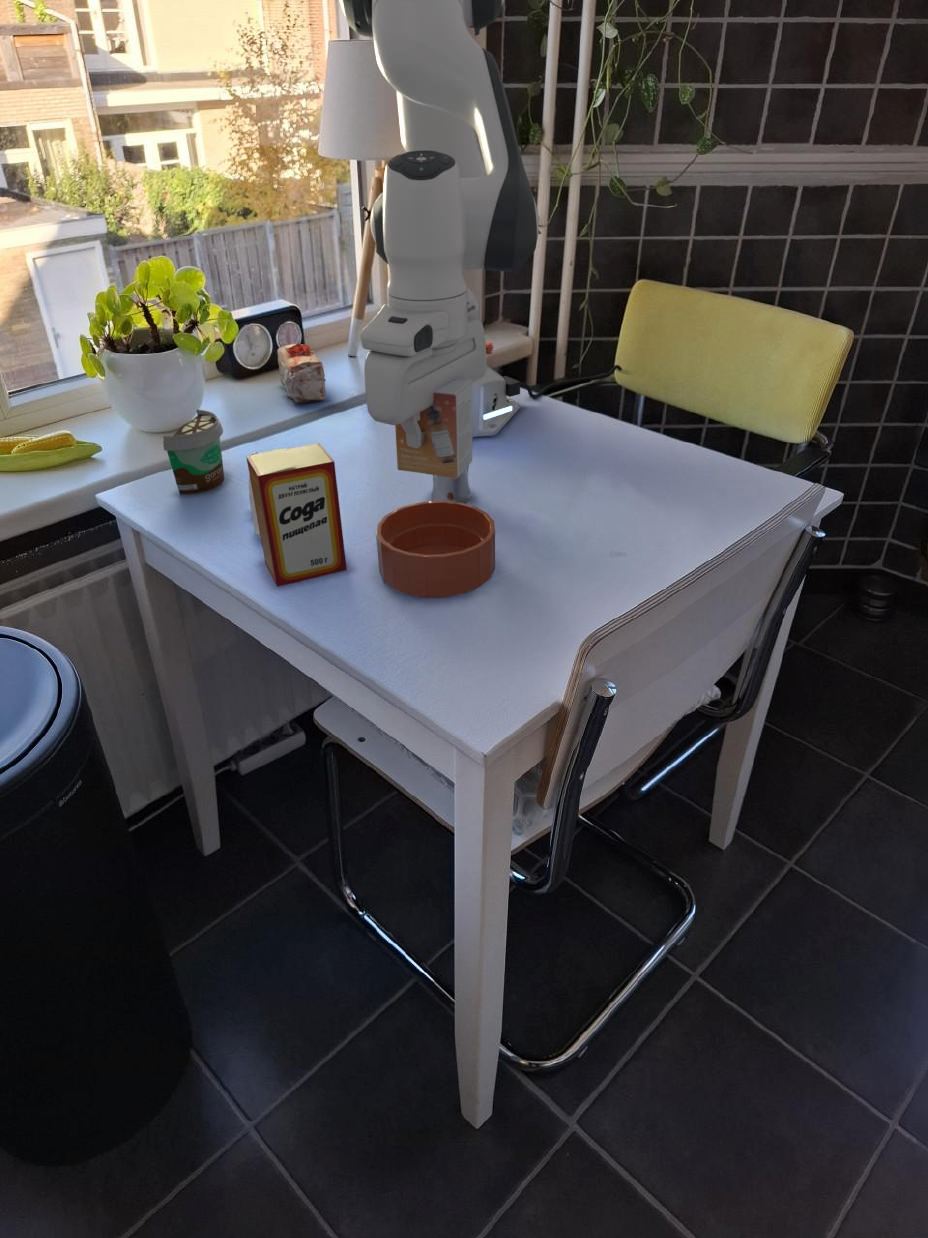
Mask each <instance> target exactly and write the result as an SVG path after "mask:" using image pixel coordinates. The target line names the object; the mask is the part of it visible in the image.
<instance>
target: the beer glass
mask: <svg viewBox="0 0 928 1238" xmlns="http://www.w3.org/2000/svg"><path fill="white" fill-rule="evenodd" d="M472 432H473V430H472ZM469 466H470V464H469V465H468V466H467V468H466V469H465V470H464V471H463V472H462V473H461V475H460V476H459V477H458V478H457V479H453V478H448V477H442V476H437V475H432V491H431V497H430V499H431V501H451V502H460V503H465V504H469V502H470V501H471V499H472V495H471V489H470V484H469Z"/></svg>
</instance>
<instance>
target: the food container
mask: <svg viewBox="0 0 928 1238" xmlns="http://www.w3.org/2000/svg"><path fill="white" fill-rule="evenodd" d="M223 433H224V428H223V426H222V423H221V421H220V419H219V418H218V417H217V415H216V414H215V413H213V412H211V411H209V410H204V409H196V416H194V418H193V419H192V420H190V421H189V422H186V423H184V424H182V425H181V426H180V427H179V428H178V429H177V430H176V432H175V433H174V434H173V435H162V439H163V441H162V442H163V450H164V451H165V452H167V455H168V459H169V462H170V466H171V469H172V473H173V476H174V479H175V483H176V486H177V489H178V493H179V495H195V494H201V493H205V492H209V491H211V490H214V489H216V488H218V487H219V486H221V485H222V484H223V483H224V481H225V472H224V464H223V455H222V454H223V453H222V445H221V436H222V435H223Z"/></svg>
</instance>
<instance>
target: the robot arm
mask: <svg viewBox="0 0 928 1238" xmlns="http://www.w3.org/2000/svg"><path fill="white" fill-rule="evenodd" d="M338 2H339V6H340V8H341V11H342V13H343V15H344V17H345V19H346V22H347V26H349V27H350V29H352V30H353V31H354V32H355V33H356V34H357V35H360V36H363V37H367V38H372V40H373V46H374V54H375V60H376V63H377V66H378V69H379V71H380V72H381V74H382V76H383V77H384V79H385V80H386V81H387V83H388V84H389V85H390V86H391V87H392V88H393V89H394V90H395V93H396V94H395V95H396V103H397V113H398V123H399V132H400V133H399V134H400V142H401V145H402V148H403V149H404V151H405V152H404V153H403V152H402V153H400V154H397V155H395V156H393V157H392V158H390V159H389V160H388V161H387V163H386V164H385V169H384V176H383V190H382V191H383V192H381V193H380V194H379V195H378V197H377V198H376V199H375V201H374V203H373V206H372V209H371V212H370V221H369V223H370V231H371V236H372V238H373V241H374V243H375V253H376V254H377V256H379V257H380V258H381V259H382V261H383V262H384V263H386V264H387V265H388V280H387V284H386V297H387V302H386V303H384V304H383V305H382V307H381V308H380V310H379V312H377V314H376V315H375V316H374V318H372V319H371V320H370V321H369V322H368V323H367V324H366V325H365V327H364V328H363V329H362V330H361V333H360V341H361V346H362V348H363V349H365V350H368V351H369V352H368V353H367V354H366V356H365V361H364V365H363V366H364V375H363V376H364V389H365V399H366V407H367V411H368V414H369V416H370V417H371V418H372V420H374V421H375V422H378V423H382V424H385V425H391V426H395V425H399V424H401V426H402V427H403V429H404V431H405V432H406V441H407V445H408V446H409V447H413V448H419V447H420V446H422V445H423V444H425V442H426V439H425V436H426V434H425V430H420V427H419V425H418V423H417V421H419V420H420V412H421V411H423V410H425V409H427V408H428V407H430V406H432V405H433V400H434V399H433V393H434V391H436V390H437V389H439V388H441V387H443V386H445V385H447V384H449V383H451V382H453V381H455V380H457V379H462V380H463V379H469V380H472V430H473V432H472V438H477V437H494V436H496V435H498V433H499V432H500V431H501V430H502V429H503V428H504V427H505V426H506V424H507V423H508V422H509V421H510V420H511V419H512V418H513V417H514V416H515V414H516V413H517V412H518V411H519V409H520V403H519V402H517V401H516V400H514V399H512V397H514V396H519V395H521V388H524V389H525V390H527V394H528V396H529V397H530V398H531V399H537V398H539V397H542V395H543V394H544V393H546V392H547V391H549V390H550V389H553V388H557V387H561V386H565V385H570V384H576V383H580V382H588V381H596V380H601V379H605V378H609V377H610V376H612V375H613V374H614V373H615V371H616V370H618V371H622V370H623V368H622V367H621V366H620V365H619V364H615V365H613V367H612V368H611V369H610V370H609V371H608V372H606V373H603V374H599V375H590V376H584V377H583V376H582V377H577V378H571V379H566V380H561V381H557V382H553V383H551V384H548V385H546V386H545V387H543V388H542V389H541V390H539V392H537V393H536V394H534V393H533V390H532V388H531V386H530V385H529V384H527V383H524V382H521V381H519V380H517V379H514V378H513V377H509V376H508V375H504V376H502V375H501V374H499V373H498V372H497V371H495V370H494V369H492V367H490V366H489V365H488V361H487V360H488V358H487V355H492V353H493V351H494V344H493V343H492V342H486V336H485V335H486V333H485V328H484V325H483V323H482V321H481V309H480V308H481V307H480V306H481V305H480V303H479V300H478V298H477V296H476V294H475V293H474V292H473V291H472V289H470V288H469V287H468V284H467V280H466V277H465V272H464V270H484V271H489V272H490V271H491V272H506V273H512V272H513V271H516V269H518V268H519V267H520V266H521V265H522V264H524V263H525V262H526V261H527V260H528V259H529V258H530V257H531V256H532V255H533V253H534V252H535V251H536V249H537V243H538V238H539V234H540V233H539V232H540V218H539V217H540V216H539V211H538V206H537V202H536V200H535V197H534V194H533V190H532V187H531V184H530V181H529V178H528V176H527V172H526V168H525V166H524V163H523V159H522V154H521V150H520V146H519V141H518V138H517V134H516V129H515V125H514V121H513V117H512V112H511V109H510V103H509V101H508V97H507V93H506V89H505V86H504V82H503V79H502V74H501V73H500V69H499V66H498V64H497V61H496V59H495V57H494V55H493V54H492V52H490V51H488V50H487V49H485V48H484V47H481V46H480V45H479V43H478V42H477V41H476V39H474V37H477V36H479V35H480V32H481V30H482V29H484V28H486V27H488V26H491V25H492V24H493V23H494V22H495V21H496V20H497V19H498V18H499V16H500V15H501V13H502V12H503V6H504V3H505V0H338ZM468 28H469V29H470V28H471V29H472V28H473V29H474V36H472V34H471V32H470V31H469V29H468ZM476 135H477V137H476ZM477 138H478V140H477ZM478 143H479V146H480V150H479V146H478ZM480 151H481V152H480Z"/></svg>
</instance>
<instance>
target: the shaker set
mask: <svg viewBox="0 0 928 1238" xmlns="http://www.w3.org/2000/svg"><path fill="white" fill-rule="evenodd" d="M255 454H259V453H258V451H253V452H252V453H251V455H255ZM248 491H249V492H248V493H249V494H248V498H249V506H250V512H251V517H252V524H253V530H254V531H253V532H254V534H255V535H256V536H257V537H259V538H261V537H260V531H259V525H258V520H257V514H256V508H255V503H254V497H253V491H252V486H251V480H250V474H249V475H248Z"/></svg>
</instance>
